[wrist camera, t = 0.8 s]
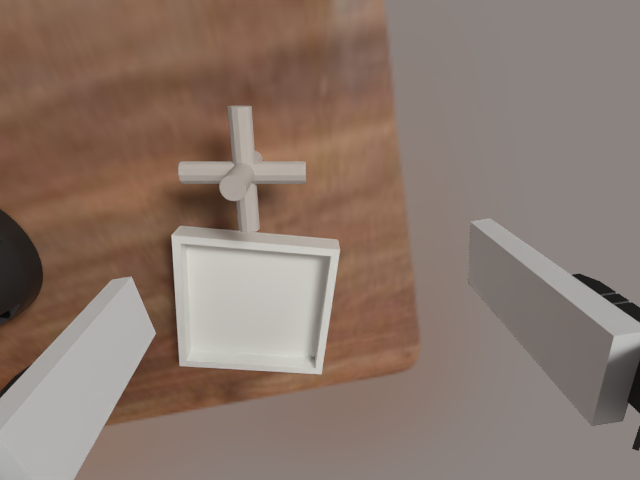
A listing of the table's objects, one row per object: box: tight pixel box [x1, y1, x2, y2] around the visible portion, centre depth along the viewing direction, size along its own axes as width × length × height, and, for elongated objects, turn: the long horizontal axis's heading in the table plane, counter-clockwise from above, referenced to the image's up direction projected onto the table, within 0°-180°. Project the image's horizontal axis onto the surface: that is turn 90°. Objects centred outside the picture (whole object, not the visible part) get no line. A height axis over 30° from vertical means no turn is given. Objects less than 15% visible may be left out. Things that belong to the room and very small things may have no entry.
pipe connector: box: [178, 106, 306, 233], centre depth 29 cm, size 10×10×10 cm
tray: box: [171, 226, 340, 374], centre depth 38 cm, size 16×16×2 cm
